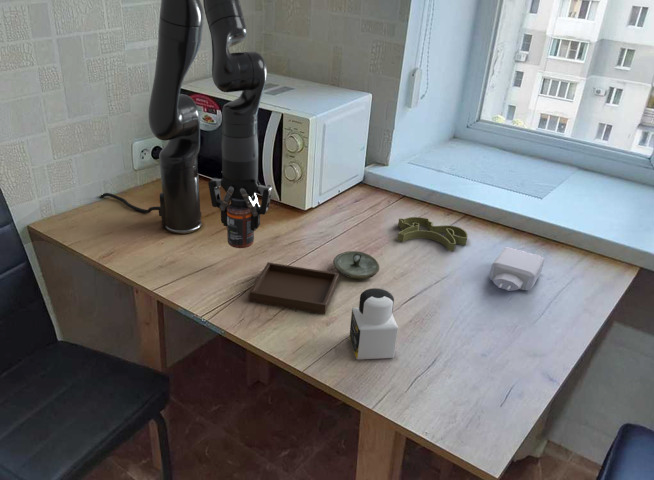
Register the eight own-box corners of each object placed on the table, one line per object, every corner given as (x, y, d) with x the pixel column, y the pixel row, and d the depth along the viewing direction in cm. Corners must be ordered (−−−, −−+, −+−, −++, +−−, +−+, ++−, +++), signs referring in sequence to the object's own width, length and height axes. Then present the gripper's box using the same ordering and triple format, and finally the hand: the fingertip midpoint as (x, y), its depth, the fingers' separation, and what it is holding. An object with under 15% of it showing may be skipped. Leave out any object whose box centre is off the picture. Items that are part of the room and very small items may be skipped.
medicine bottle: (348, 337, 118) (353, 284, 112) (385, 335, 119) (392, 283, 113) (356, 360, 112) (362, 306, 106) (394, 358, 113) (402, 304, 107)
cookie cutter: (389, 239, 154) (390, 232, 153) (400, 220, 163) (401, 213, 162) (462, 253, 148) (464, 246, 147) (469, 233, 157) (471, 226, 156)
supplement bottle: (255, 238, 140) (256, 192, 134) (252, 250, 135) (252, 203, 129) (229, 236, 140) (229, 190, 134) (225, 248, 135) (224, 201, 129)
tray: (249, 301, 129) (249, 292, 128) (267, 270, 140) (267, 262, 139) (324, 314, 125) (325, 305, 124) (338, 282, 136) (338, 273, 135)
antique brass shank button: (350, 261, 147) (346, 242, 145) (387, 263, 141) (384, 244, 139) (327, 281, 140) (323, 261, 138) (366, 285, 134) (362, 264, 132)
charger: (479, 291, 133) (499, 263, 144) (522, 305, 129) (540, 275, 139) (483, 273, 131) (503, 245, 141) (527, 285, 126) (545, 256, 137)
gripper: (278, 152, 128) (276, 224, 137) (214, 144, 131) (216, 215, 140) (267, 164, 121) (266, 239, 130) (200, 155, 125) (203, 229, 134)
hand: (240, 226), depth 135 cm, fingers closed on supplement bottle, 6 cm apart
